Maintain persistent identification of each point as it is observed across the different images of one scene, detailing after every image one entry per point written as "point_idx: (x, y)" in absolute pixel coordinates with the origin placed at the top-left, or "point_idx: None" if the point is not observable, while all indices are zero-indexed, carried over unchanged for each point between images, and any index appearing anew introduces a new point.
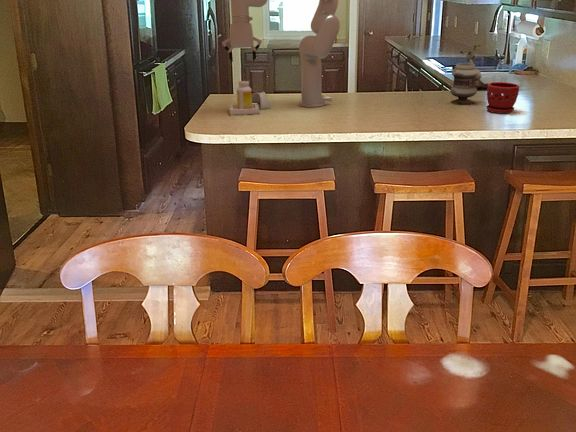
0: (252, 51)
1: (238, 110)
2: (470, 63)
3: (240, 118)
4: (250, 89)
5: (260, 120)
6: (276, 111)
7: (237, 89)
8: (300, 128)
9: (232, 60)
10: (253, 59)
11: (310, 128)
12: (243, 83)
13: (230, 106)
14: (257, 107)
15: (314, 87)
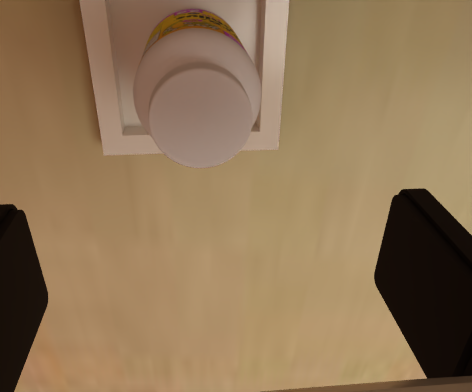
0: (464, 348)
1: (158, 152)
2: None
3: (173, 212)
4: (252, 126)
5: (265, 256)
6: (380, 60)
7: (141, 123)
8: (381, 364)
9: (41, 310)
10: (386, 296)
11: (410, 365)
12: (198, 166)
13: (90, 37)
14: (273, 103)
15: None
